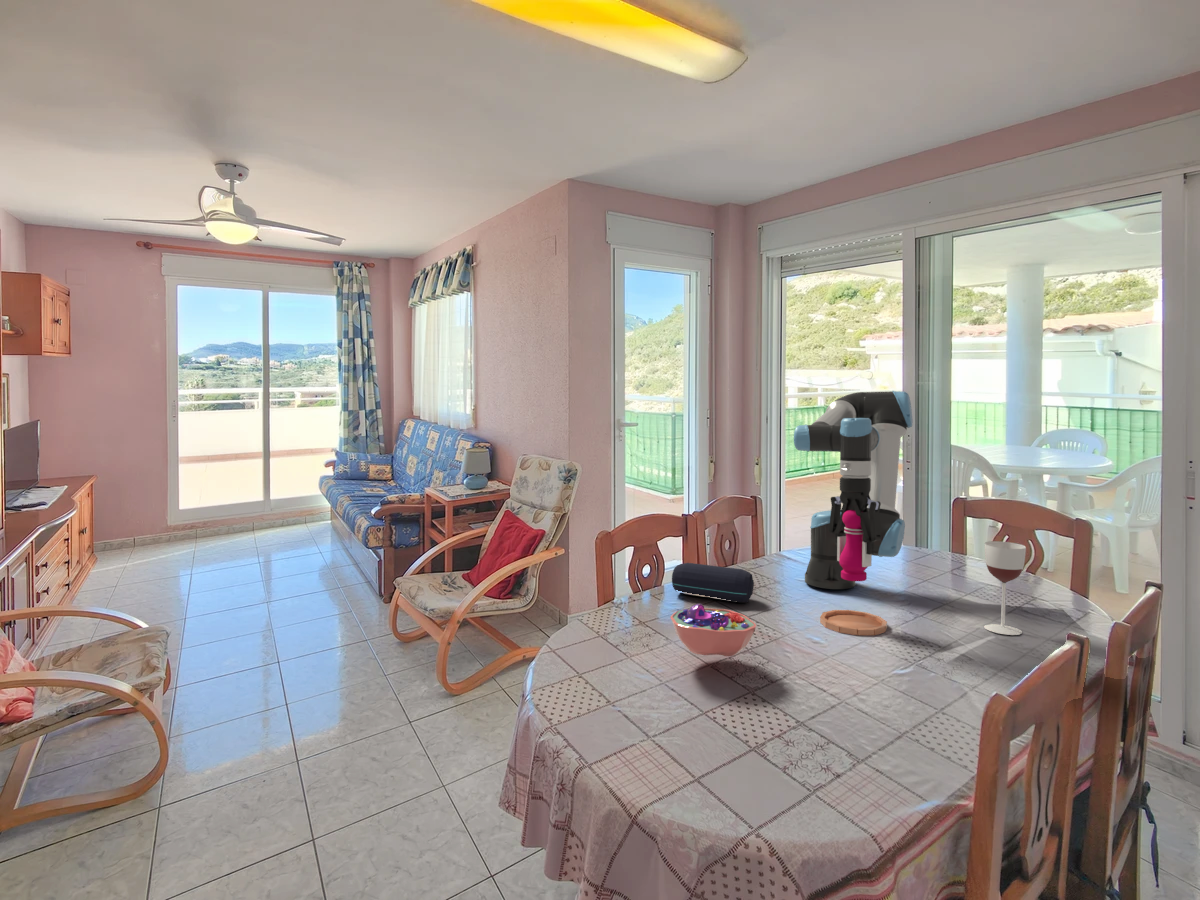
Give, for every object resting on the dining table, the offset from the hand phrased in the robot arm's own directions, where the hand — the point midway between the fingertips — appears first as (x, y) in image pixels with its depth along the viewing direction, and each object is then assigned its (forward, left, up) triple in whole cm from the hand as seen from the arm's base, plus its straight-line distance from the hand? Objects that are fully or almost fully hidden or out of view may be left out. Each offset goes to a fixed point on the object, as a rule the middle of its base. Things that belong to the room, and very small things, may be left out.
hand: (853, 563), depth 163 cm
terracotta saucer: (0, 0, -17) cm, 17 cm away
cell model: (-4, -45, -17) cm, 48 cm away
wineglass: (+22, +30, -17) cm, 41 cm away
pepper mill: (0, 0, -4) cm, 4 cm away
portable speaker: (-38, -16, -17) cm, 45 cm away
